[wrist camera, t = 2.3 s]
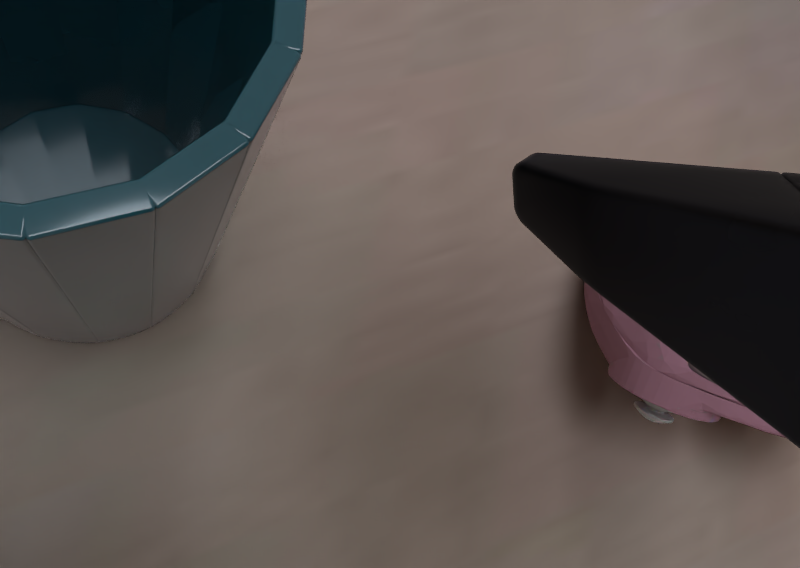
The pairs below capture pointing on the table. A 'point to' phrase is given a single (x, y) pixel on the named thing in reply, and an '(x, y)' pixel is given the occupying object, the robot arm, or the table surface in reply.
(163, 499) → the table surface
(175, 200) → the pen cup
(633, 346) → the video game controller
